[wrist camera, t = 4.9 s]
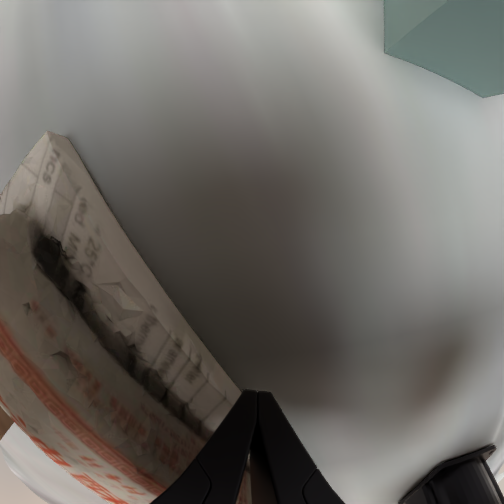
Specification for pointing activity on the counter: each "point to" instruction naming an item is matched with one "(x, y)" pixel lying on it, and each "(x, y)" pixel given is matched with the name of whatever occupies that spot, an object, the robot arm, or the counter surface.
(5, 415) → the walnut bookend
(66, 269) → the packaged product
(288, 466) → the robot arm
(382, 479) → the counter surface
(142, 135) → the counter surface
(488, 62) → the pale teal block
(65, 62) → the counter surface
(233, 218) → the counter surface
